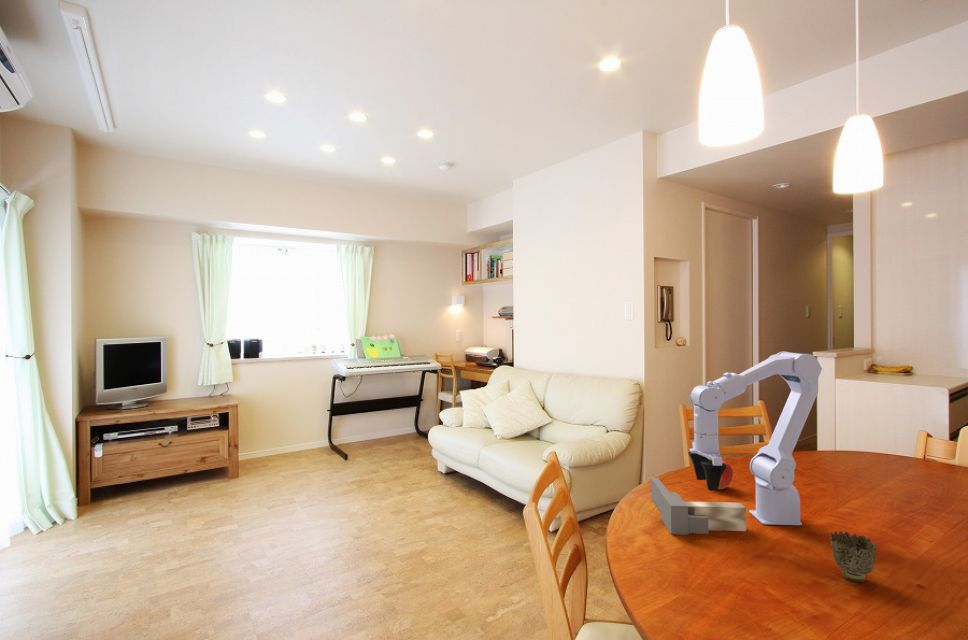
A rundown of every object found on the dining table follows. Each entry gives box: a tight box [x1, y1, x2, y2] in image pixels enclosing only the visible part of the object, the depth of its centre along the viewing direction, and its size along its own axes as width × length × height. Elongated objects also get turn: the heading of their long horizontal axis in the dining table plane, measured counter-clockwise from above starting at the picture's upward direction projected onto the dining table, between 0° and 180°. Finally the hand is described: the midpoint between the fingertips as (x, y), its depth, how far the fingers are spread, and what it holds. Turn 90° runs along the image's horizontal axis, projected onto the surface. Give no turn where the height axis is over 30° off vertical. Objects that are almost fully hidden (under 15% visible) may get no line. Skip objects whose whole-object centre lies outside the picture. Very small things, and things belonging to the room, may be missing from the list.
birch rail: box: [684, 501, 747, 532], centre depth 119 cm, size 14×3×6 cm, turn 85°
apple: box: [718, 459, 734, 490], centre depth 146 cm, size 8×8×10 cm
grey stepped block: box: [650, 477, 709, 536], centre depth 126 cm, size 9×23×7 cm, turn 175°
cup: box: [829, 530, 878, 583], centre depth 95 cm, size 8×7×8 cm
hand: (706, 484), depth 123 cm, fingers open, 7 cm apart
